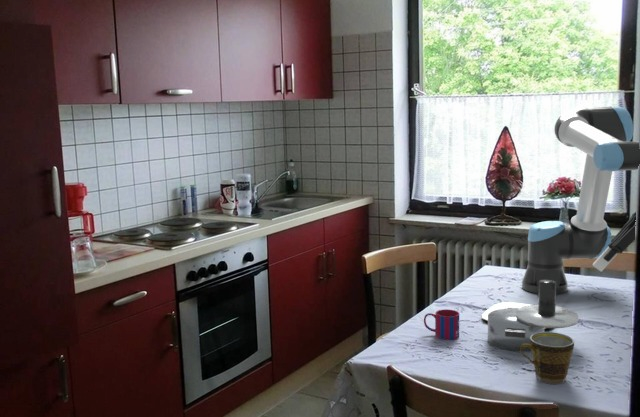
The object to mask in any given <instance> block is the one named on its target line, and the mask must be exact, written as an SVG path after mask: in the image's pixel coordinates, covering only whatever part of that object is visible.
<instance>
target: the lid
mask: <svg viewBox="0 0 640 417" xmlns="http://www.w3.org/2000/svg"><path fill="white" fill-rule="evenodd" d="M556 297H557V294H556V282H555V281H553V280H540V281H539V294H538V303H537V304H530V306H524V307H521V308H519V309H517V311H516V318H517V319H518V320H519V321H521V322H522V323H525V324H528V325H531V326H536V327H542V328H547V329H564V328H568V327H569V328H570V327H573V326H575V325H577V324H578V322H579V314H578V313H576V312H575V311H573V310H571V309H570V308H566V307H563V306H558V305H556V302H557V298H556Z"/></svg>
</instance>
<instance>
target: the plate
mask: <svg viewBox="0 0 640 417" xmlns="http://www.w3.org/2000/svg"><path fill="white" fill-rule="evenodd" d="M530 305H531V304H530V303H522V302H521V303H520V302H512V301H511V302H510V301H509V302H506V301H503V302H499V303H495V304H494V305H491V306H490V307H489V308H487V310H485V311H484V312H483V313H482V314H481V318H482V320H483V321H486V322H488V314H489V313H490V312H492V311H495V310H499V309H508V308H521V307H524V306H530ZM546 329H548V328H544V330H546Z"/></svg>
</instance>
